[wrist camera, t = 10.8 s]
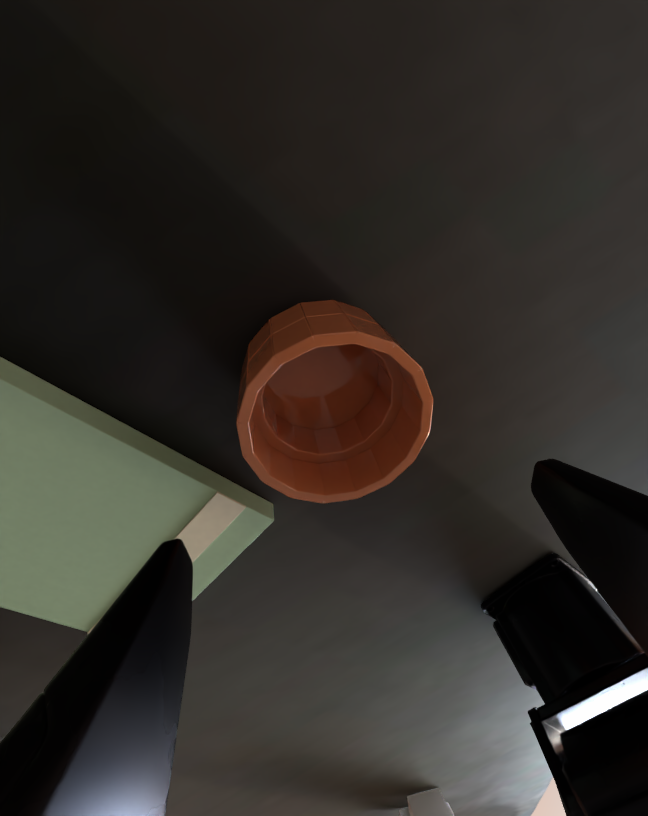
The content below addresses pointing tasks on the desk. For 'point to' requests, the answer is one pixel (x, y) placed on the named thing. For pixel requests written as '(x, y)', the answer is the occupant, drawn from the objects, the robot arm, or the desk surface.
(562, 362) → the desk surface
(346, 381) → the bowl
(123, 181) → the desk surface
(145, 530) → the towel
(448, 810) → the voxel character
